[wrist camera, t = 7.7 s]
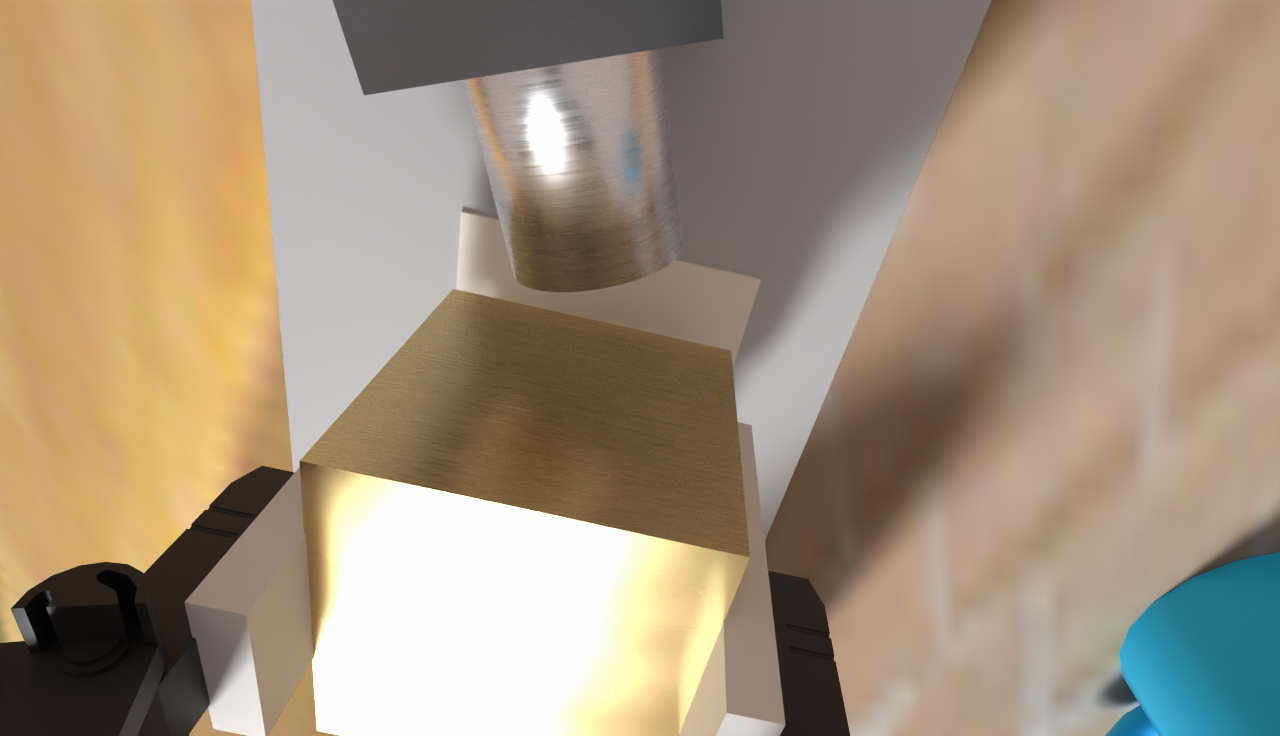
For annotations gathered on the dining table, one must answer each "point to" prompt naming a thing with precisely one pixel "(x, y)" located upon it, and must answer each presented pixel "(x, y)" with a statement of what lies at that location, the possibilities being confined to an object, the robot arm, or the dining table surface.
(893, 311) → the dining table surface
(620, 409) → the block
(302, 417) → the grey base plate
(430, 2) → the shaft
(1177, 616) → the mug
